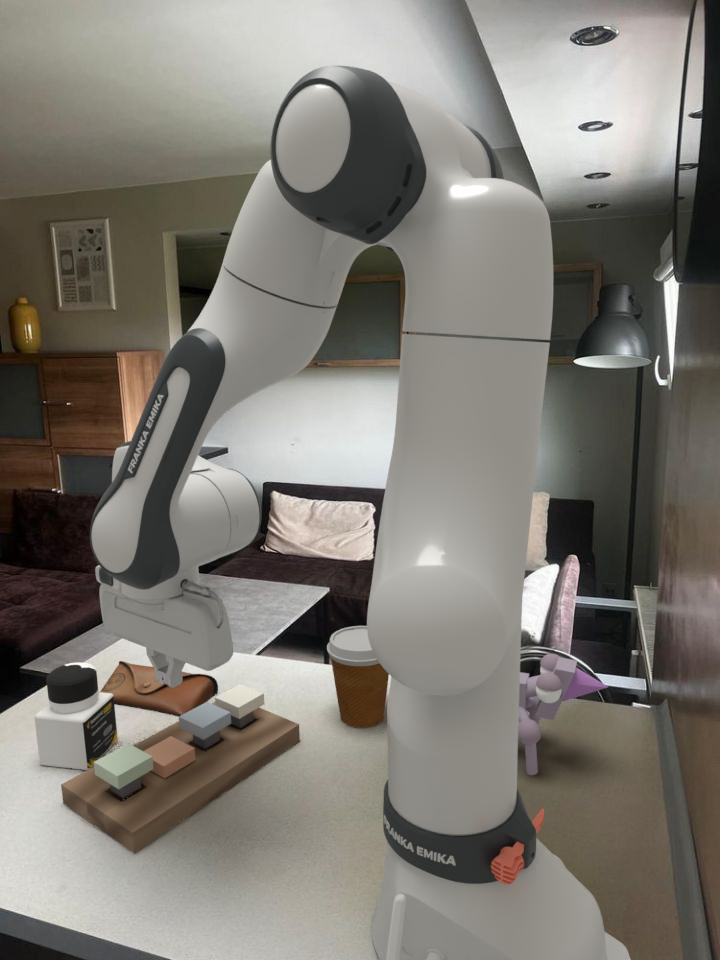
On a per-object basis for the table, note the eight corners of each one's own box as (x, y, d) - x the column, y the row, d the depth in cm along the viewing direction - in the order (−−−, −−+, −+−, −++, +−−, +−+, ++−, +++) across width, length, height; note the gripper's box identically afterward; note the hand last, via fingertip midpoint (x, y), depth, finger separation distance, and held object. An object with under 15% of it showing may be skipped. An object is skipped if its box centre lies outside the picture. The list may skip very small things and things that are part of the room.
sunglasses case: (86, 702, 105) (97, 657, 107) (113, 704, 112) (124, 661, 114) (190, 719, 100) (200, 671, 102) (213, 720, 106) (222, 675, 108)
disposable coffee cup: (315, 715, 100) (312, 637, 98) (364, 693, 106) (362, 619, 104) (360, 742, 93) (358, 659, 91) (409, 716, 100) (408, 637, 97)
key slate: (232, 739, 90) (230, 712, 89) (204, 755, 87) (202, 728, 86) (208, 727, 93) (206, 701, 92) (180, 743, 89) (178, 716, 89)
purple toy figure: (606, 744, 92) (611, 650, 88) (602, 797, 82) (607, 694, 79) (457, 718, 99) (456, 630, 95) (437, 763, 89) (436, 667, 86)
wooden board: (299, 741, 94) (299, 724, 93) (134, 853, 74) (132, 832, 73) (229, 710, 102) (228, 694, 102) (63, 803, 82) (61, 784, 82)
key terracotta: (196, 775, 86) (194, 748, 85) (166, 795, 82) (163, 766, 82) (173, 763, 89) (170, 735, 88) (142, 781, 85) (139, 753, 84)
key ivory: (265, 719, 95) (263, 693, 94) (240, 734, 91) (238, 707, 91) (241, 708, 98) (240, 683, 97) (216, 723, 94) (214, 697, 93)
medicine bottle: (88, 771, 88) (79, 684, 86) (39, 766, 90) (28, 679, 87) (119, 740, 95) (111, 658, 93) (72, 735, 96) (63, 655, 94)
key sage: (154, 786, 81) (152, 756, 80) (120, 807, 77) (117, 776, 77) (131, 772, 84) (128, 743, 83) (96, 791, 80) (93, 762, 79)
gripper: (242, 581, 77) (249, 696, 80) (130, 553, 90) (140, 653, 92) (197, 598, 73) (207, 720, 75) (86, 566, 85) (97, 671, 87)
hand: (169, 682), depth 84 cm, fingers closed
